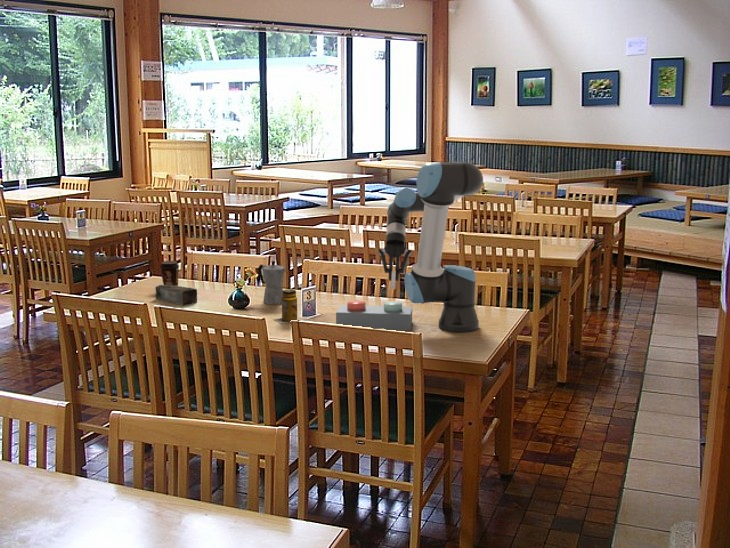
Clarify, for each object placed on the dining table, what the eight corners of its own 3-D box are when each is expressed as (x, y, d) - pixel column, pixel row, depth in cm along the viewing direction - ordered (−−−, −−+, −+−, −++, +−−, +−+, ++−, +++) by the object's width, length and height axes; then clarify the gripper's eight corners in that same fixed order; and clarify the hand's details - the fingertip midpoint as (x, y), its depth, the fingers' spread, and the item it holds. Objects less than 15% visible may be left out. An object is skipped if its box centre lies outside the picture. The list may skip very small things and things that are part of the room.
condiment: (301, 321, 319) (301, 290, 317) (282, 324, 315) (281, 293, 312) (292, 317, 325) (292, 287, 323) (273, 320, 321) (272, 290, 318)
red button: (366, 320, 317) (366, 300, 315) (364, 325, 310) (364, 305, 308) (348, 320, 318) (348, 300, 316) (346, 325, 311) (346, 304, 309)
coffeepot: (293, 302, 350) (292, 260, 346) (278, 306, 342) (277, 264, 339) (266, 297, 359) (265, 257, 355) (251, 301, 351) (250, 260, 348)
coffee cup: (161, 288, 377) (160, 260, 374) (180, 287, 378) (179, 260, 376) (160, 292, 368) (159, 264, 366) (179, 291, 370) (178, 263, 367)
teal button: (402, 321, 315) (402, 301, 314) (401, 326, 308) (401, 306, 307) (384, 321, 316) (384, 301, 314) (383, 326, 309) (383, 305, 308)
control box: (412, 321, 317) (412, 306, 316) (410, 329, 306) (410, 314, 305) (340, 319, 320) (340, 304, 319) (336, 327, 309) (336, 312, 308)
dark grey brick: (170, 296, 362) (169, 282, 360) (198, 303, 350) (198, 287, 348) (155, 299, 355) (154, 284, 354) (183, 306, 344) (183, 291, 342)
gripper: (412, 242, 325) (410, 292, 312) (379, 242, 326) (376, 292, 313) (412, 231, 319) (410, 282, 306) (378, 231, 320) (375, 281, 307)
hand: (393, 287), depth 310 cm, fingers closed
